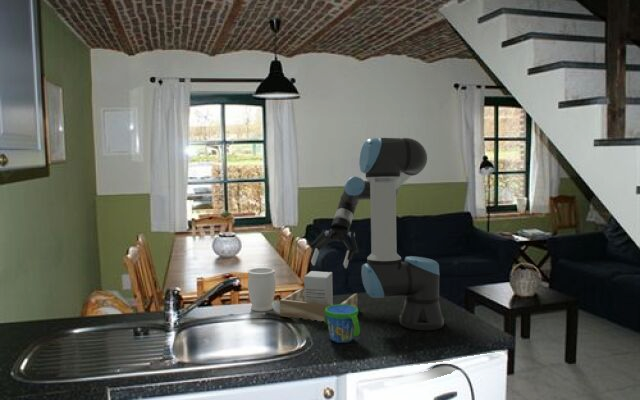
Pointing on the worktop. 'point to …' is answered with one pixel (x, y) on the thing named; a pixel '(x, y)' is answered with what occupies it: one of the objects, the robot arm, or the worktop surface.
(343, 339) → the snack cup
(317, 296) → the supplement box
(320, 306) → the wooden u-shaped frame
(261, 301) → the jar
